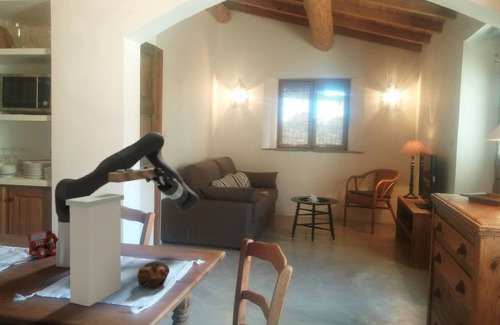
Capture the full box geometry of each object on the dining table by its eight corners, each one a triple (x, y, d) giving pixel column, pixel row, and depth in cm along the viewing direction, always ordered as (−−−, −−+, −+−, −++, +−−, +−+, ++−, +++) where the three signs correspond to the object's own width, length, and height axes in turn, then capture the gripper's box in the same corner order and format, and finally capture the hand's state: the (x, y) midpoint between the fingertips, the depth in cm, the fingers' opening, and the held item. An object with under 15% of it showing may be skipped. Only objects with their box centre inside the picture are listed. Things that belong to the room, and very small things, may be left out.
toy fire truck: (63, 253, 162) (63, 229, 162) (33, 260, 152) (33, 235, 151) (54, 250, 166) (54, 226, 166) (24, 257, 156) (24, 232, 155)
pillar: (104, 284, 129) (104, 193, 127) (123, 288, 126) (124, 194, 124) (66, 303, 114) (65, 200, 112) (87, 308, 111) (87, 202, 109)
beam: (152, 175, 149) (152, 165, 149) (161, 176, 148) (161, 166, 148) (108, 182, 126) (108, 170, 125) (118, 182, 124) (118, 171, 124)
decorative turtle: (128, 291, 123) (128, 266, 123) (152, 278, 138) (152, 256, 138) (155, 294, 121) (155, 268, 121) (176, 280, 135) (176, 257, 135)
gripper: (158, 178, 162) (136, 159, 148) (188, 180, 157) (168, 161, 143) (153, 194, 159) (130, 177, 145) (183, 197, 154) (163, 179, 140)
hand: (149, 169), depth 144 cm, fingers closed on beam, 4 cm apart
